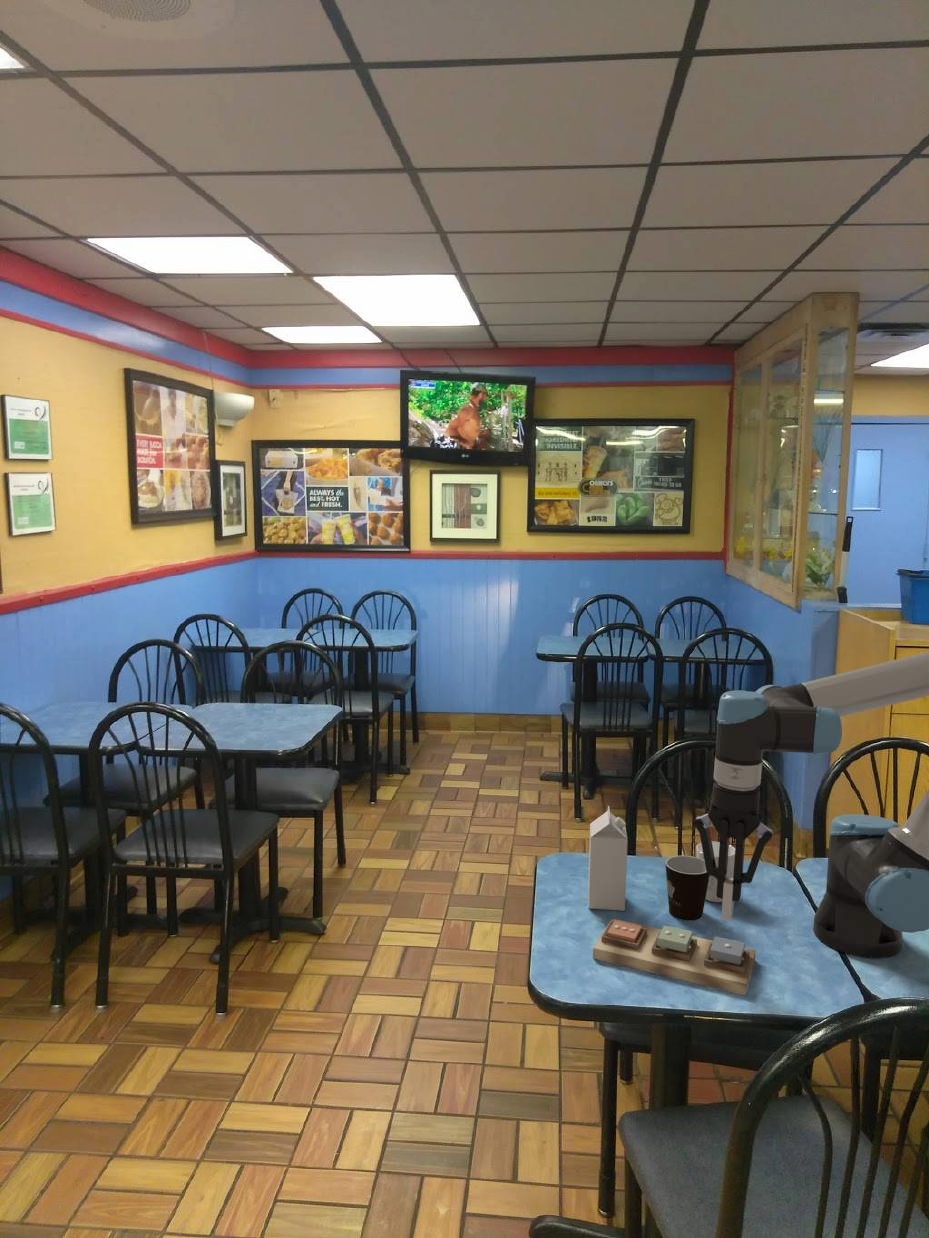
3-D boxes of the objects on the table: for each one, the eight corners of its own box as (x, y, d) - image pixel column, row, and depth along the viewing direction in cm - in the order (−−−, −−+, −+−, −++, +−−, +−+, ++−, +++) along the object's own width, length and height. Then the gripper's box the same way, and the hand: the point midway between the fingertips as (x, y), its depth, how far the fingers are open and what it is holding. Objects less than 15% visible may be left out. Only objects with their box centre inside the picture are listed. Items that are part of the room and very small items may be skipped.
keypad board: (755, 960, 155) (756, 944, 155) (745, 995, 145) (746, 978, 144) (611, 928, 166) (612, 913, 166) (592, 958, 156) (593, 942, 155)
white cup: (706, 905, 176) (708, 858, 174) (687, 888, 183) (689, 842, 182) (741, 901, 178) (744, 854, 176) (721, 884, 185) (723, 839, 184)
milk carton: (588, 909, 174) (591, 817, 171) (587, 893, 181) (590, 804, 178) (625, 911, 173) (628, 819, 170) (622, 895, 180) (626, 806, 177)
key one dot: (744, 950, 152) (745, 941, 152) (740, 964, 148) (740, 955, 148) (714, 944, 155) (715, 935, 154) (709, 957, 150) (710, 948, 150)
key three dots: (641, 933, 160) (641, 925, 160) (634, 946, 156) (634, 937, 155) (614, 927, 162) (614, 919, 162) (607, 940, 158) (607, 931, 158)
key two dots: (691, 939, 156) (692, 930, 156) (686, 952, 152) (686, 943, 151) (663, 933, 158) (664, 924, 158) (657, 945, 154) (657, 936, 154)
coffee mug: (709, 925, 168) (712, 876, 166) (663, 920, 169) (665, 871, 168) (705, 898, 179) (708, 851, 178) (662, 894, 181) (664, 847, 179)
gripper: (692, 784, 146) (684, 917, 150) (775, 797, 141) (764, 935, 144) (701, 771, 153) (692, 899, 156) (780, 783, 147) (769, 915, 151)
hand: (727, 916), depth 150 cm, fingers closed
